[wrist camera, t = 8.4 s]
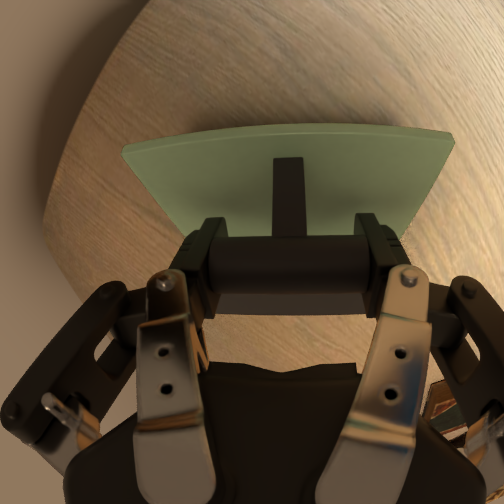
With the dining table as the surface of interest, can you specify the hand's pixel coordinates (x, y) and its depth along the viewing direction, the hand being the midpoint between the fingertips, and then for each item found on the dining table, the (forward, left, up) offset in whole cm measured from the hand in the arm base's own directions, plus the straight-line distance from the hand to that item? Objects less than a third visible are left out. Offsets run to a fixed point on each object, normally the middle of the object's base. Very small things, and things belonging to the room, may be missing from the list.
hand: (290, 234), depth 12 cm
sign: (0, -1, -4) cm, 4 cm away
